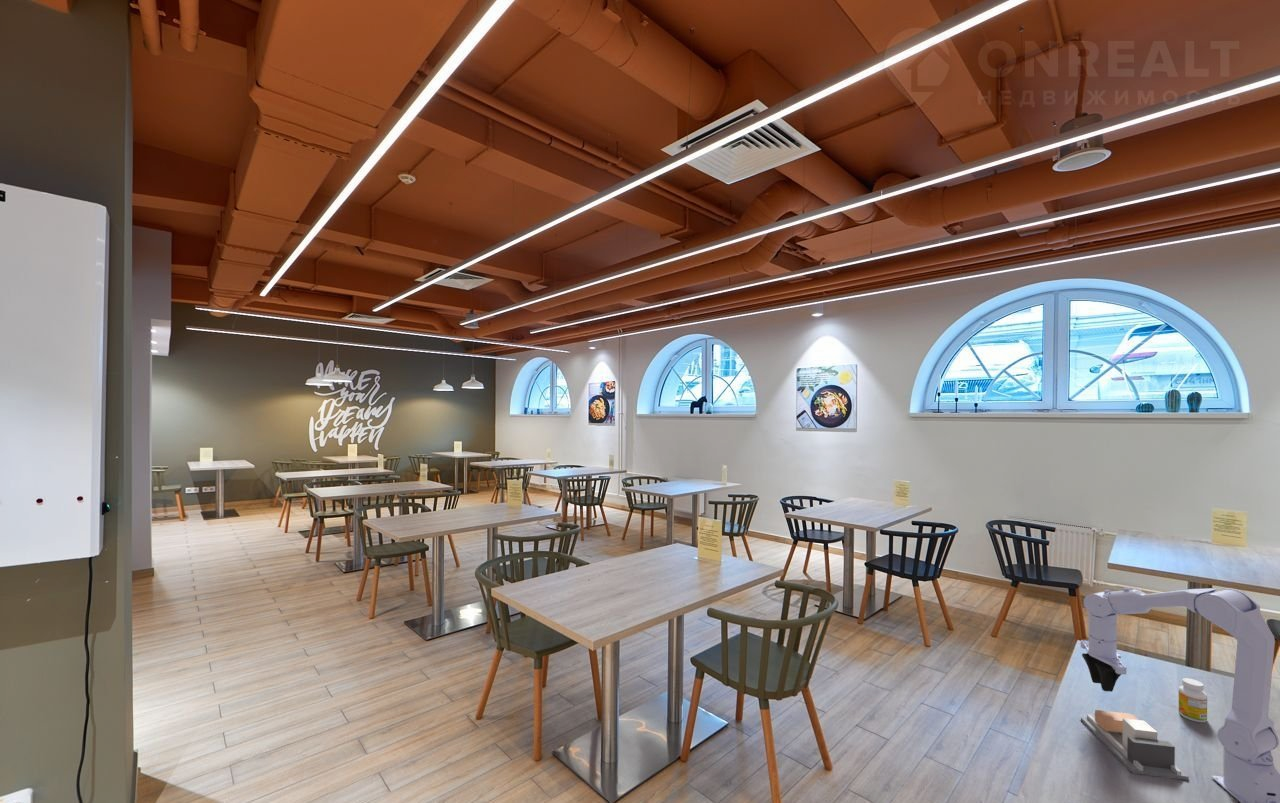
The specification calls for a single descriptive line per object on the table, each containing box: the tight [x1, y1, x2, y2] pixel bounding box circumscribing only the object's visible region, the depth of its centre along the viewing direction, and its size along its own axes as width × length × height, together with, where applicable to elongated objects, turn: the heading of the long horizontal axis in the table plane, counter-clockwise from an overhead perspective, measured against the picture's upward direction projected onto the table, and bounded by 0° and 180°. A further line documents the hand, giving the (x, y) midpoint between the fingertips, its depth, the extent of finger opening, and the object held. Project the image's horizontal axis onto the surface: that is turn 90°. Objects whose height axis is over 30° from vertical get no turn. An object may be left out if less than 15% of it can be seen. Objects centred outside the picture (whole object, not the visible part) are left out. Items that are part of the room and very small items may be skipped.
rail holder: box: [1080, 714, 1190, 781], centre depth 131 cm, size 20×11×6 cm, turn 167°
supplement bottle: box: [1178, 677, 1208, 723], centre depth 142 cm, size 5×5×10 cm
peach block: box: [1094, 709, 1139, 733], centre depth 135 cm, size 4×8×3 cm, turn 77°
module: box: [1122, 718, 1158, 750], centre depth 127 cm, size 4×4×7 cm
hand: (1102, 686), depth 141 cm, fingers open, 3 cm apart
